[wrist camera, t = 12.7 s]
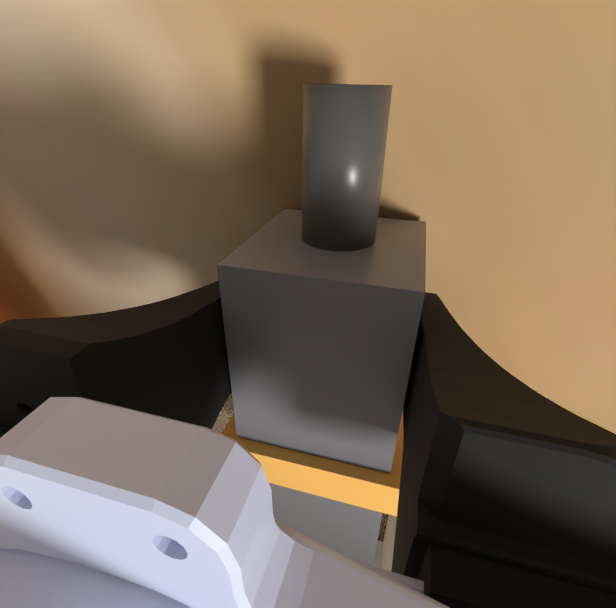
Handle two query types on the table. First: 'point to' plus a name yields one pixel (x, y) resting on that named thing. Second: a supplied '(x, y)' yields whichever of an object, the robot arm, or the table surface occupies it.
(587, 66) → the table surface
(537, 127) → the table surface
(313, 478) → the plug
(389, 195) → the table surface
